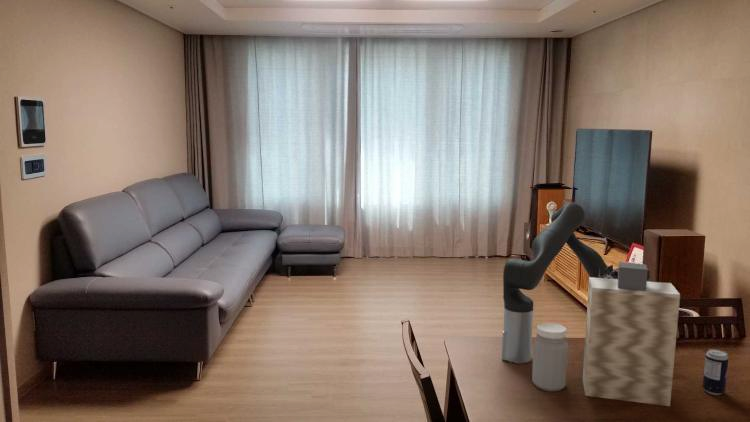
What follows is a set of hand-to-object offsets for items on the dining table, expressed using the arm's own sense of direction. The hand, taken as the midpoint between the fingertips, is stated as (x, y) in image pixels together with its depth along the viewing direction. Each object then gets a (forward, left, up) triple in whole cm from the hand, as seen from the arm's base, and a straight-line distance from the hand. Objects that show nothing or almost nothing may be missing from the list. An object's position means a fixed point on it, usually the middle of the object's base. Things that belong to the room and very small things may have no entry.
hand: (627, 269), depth 170 cm
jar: (-21, -12, -34) cm, 42 cm away
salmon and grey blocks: (0, -5, -2) cm, 6 cm away
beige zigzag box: (0, -11, -34) cm, 36 cm away
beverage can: (+25, -3, -34) cm, 42 cm away
